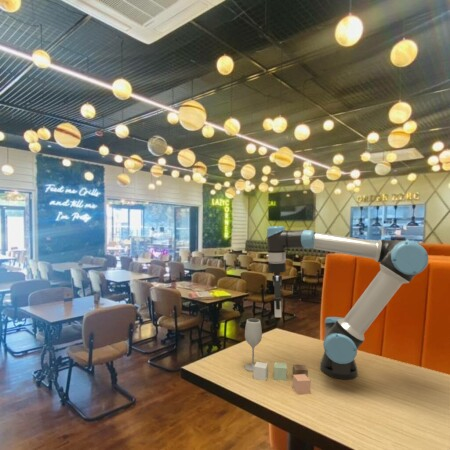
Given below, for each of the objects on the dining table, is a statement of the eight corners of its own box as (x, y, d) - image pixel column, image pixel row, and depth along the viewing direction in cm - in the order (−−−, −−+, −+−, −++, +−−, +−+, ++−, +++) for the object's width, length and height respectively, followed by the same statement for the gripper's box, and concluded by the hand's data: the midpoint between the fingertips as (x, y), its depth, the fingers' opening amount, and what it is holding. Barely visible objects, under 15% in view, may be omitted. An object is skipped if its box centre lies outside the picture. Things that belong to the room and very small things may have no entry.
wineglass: (260, 372, 130) (261, 323, 130) (243, 370, 132) (243, 322, 132) (262, 364, 138) (262, 318, 138) (245, 363, 139) (246, 317, 139)
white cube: (267, 375, 128) (267, 363, 128) (265, 380, 123) (265, 368, 123) (256, 373, 130) (256, 361, 130) (253, 378, 125) (253, 366, 125)
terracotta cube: (304, 386, 119) (304, 374, 119) (310, 393, 114) (310, 380, 114) (292, 387, 118) (292, 374, 118) (297, 394, 113) (297, 381, 113)
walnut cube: (304, 376, 127) (304, 364, 128) (307, 382, 122) (307, 370, 123) (292, 376, 128) (292, 364, 128) (295, 382, 123) (295, 369, 123)
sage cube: (286, 375, 128) (286, 363, 129) (286, 380, 124) (286, 368, 124) (274, 373, 129) (274, 362, 130) (274, 379, 125) (274, 367, 125)
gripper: (268, 259, 142) (269, 305, 142) (266, 265, 118) (268, 320, 117) (284, 259, 141) (286, 305, 140) (286, 265, 116) (288, 321, 116)
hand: (278, 312), depth 129 cm, fingers open, 13 cm apart
